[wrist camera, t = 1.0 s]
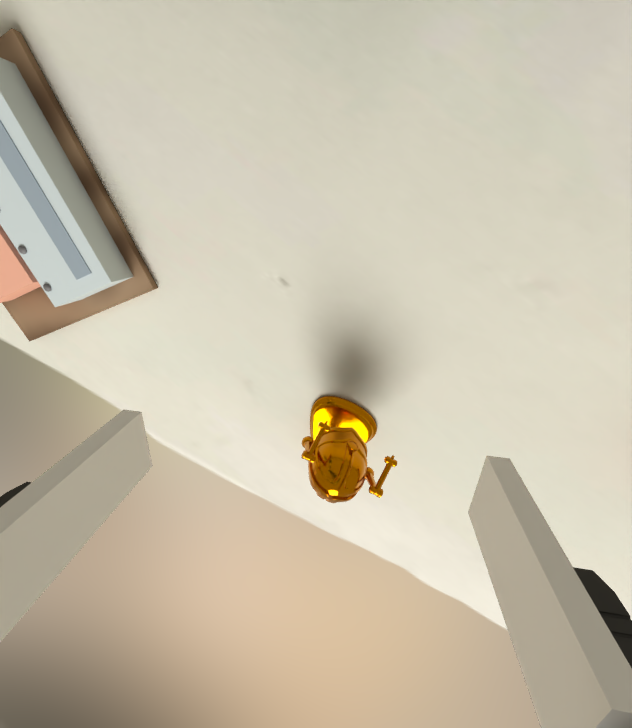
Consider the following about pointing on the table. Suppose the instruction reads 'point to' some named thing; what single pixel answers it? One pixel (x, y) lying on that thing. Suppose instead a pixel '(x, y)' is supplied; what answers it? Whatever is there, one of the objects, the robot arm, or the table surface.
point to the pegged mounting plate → (49, 203)
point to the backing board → (35, 306)
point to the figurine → (341, 450)
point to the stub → (13, 271)
